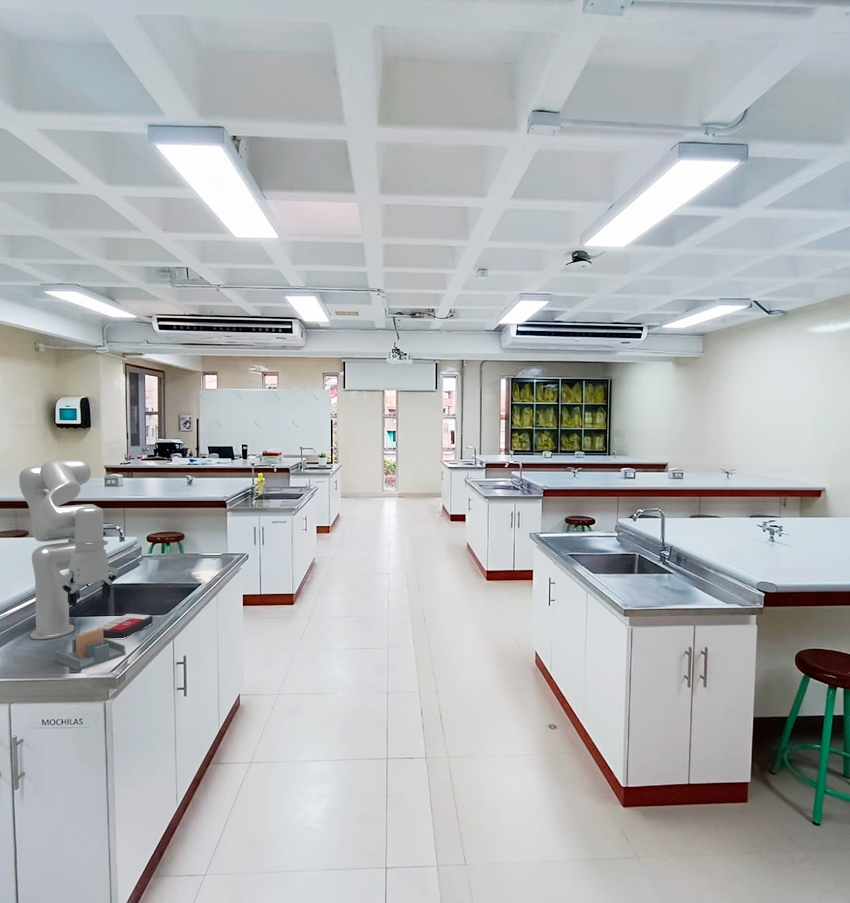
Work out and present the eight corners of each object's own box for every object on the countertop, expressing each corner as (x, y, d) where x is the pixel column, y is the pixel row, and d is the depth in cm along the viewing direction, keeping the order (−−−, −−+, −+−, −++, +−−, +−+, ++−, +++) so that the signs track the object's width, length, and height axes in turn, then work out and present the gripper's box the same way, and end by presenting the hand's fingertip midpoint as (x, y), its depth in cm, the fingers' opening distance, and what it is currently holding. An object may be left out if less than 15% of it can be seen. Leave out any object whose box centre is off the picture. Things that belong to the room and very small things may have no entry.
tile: (76, 657, 160) (76, 635, 160) (100, 649, 166) (99, 628, 166) (79, 659, 159) (79, 636, 159) (103, 651, 165) (103, 629, 165)
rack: (54, 660, 160) (54, 644, 160) (102, 645, 172) (102, 630, 172) (77, 671, 153) (77, 654, 152) (125, 654, 164) (125, 638, 164)
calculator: (94, 628, 179) (127, 612, 194) (95, 640, 180) (127, 623, 194) (122, 630, 177) (152, 613, 192) (122, 642, 177) (153, 625, 192)
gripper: (111, 541, 171) (111, 592, 171) (52, 550, 156) (52, 606, 157) (124, 543, 167) (124, 596, 167) (64, 553, 152) (65, 610, 153)
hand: (89, 601), depth 162 cm, fingers open, 9 cm apart
